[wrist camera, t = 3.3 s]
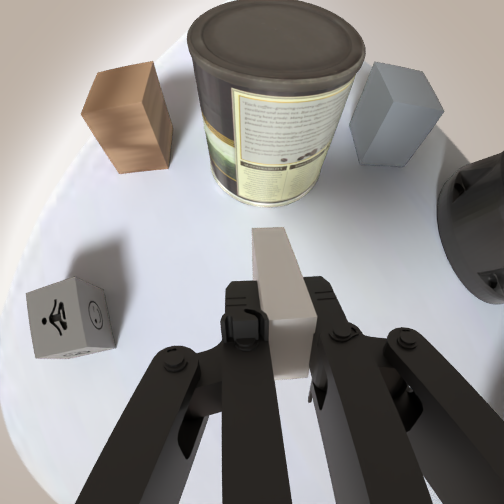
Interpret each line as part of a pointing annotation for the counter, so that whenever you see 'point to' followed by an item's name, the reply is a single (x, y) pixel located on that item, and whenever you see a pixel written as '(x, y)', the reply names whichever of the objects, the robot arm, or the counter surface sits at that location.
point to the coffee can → (271, 93)
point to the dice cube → (69, 320)
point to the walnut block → (130, 118)
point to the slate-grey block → (393, 115)
